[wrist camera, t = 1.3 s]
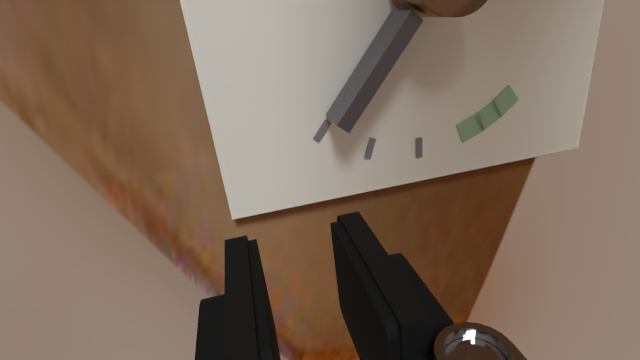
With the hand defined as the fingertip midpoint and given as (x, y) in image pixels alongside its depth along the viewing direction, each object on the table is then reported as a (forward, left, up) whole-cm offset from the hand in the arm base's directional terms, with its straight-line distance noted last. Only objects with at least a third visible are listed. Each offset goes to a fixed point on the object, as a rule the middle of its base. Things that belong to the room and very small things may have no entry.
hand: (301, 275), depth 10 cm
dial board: (-1, +12, -19) cm, 23 cm away
